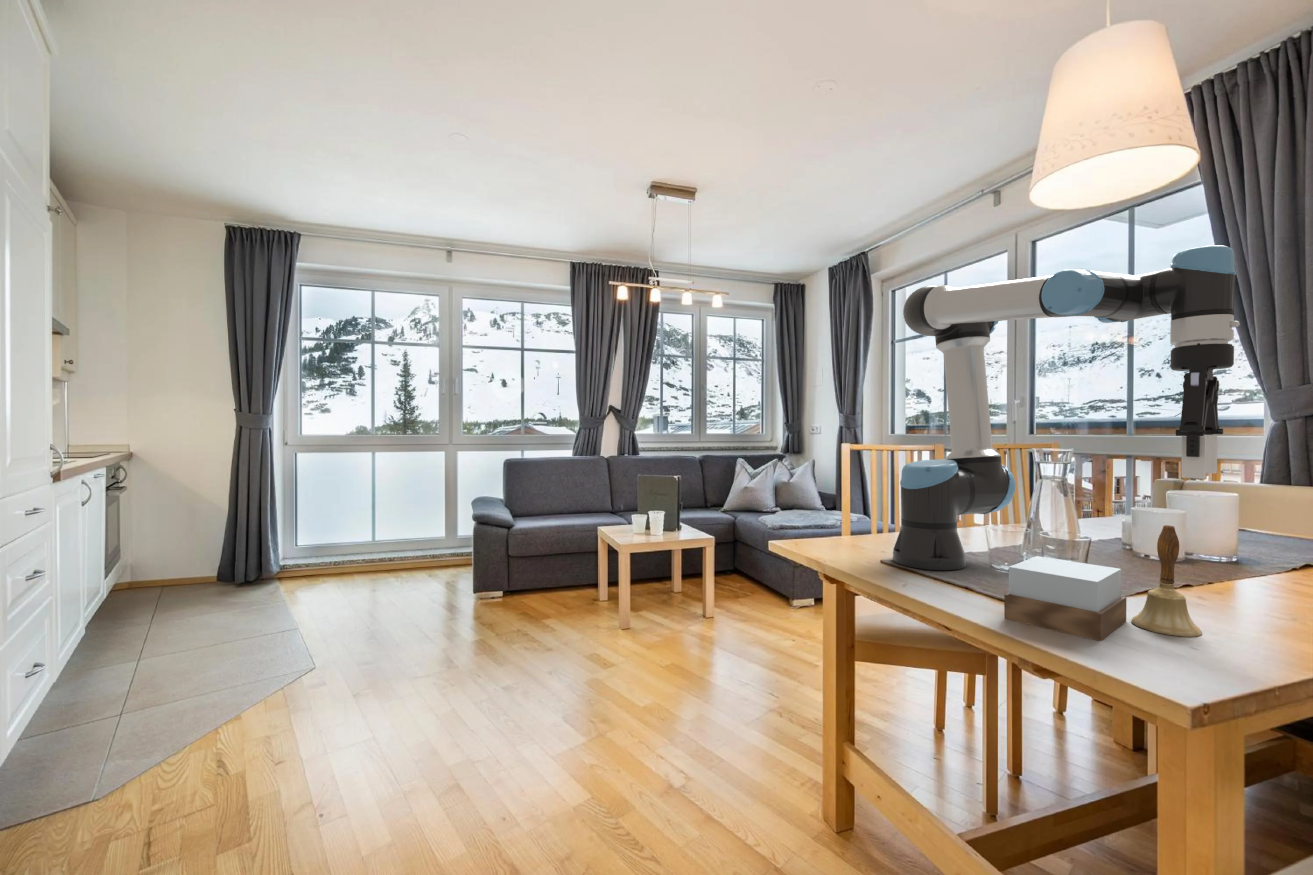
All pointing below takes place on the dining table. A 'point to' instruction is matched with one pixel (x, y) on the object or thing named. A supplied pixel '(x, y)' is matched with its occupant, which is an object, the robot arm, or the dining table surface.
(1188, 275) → the robot arm
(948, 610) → the dining table surface
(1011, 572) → the top block
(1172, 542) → the hand bell
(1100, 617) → the bottom block
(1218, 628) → the dining table surface
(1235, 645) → the dining table surface
